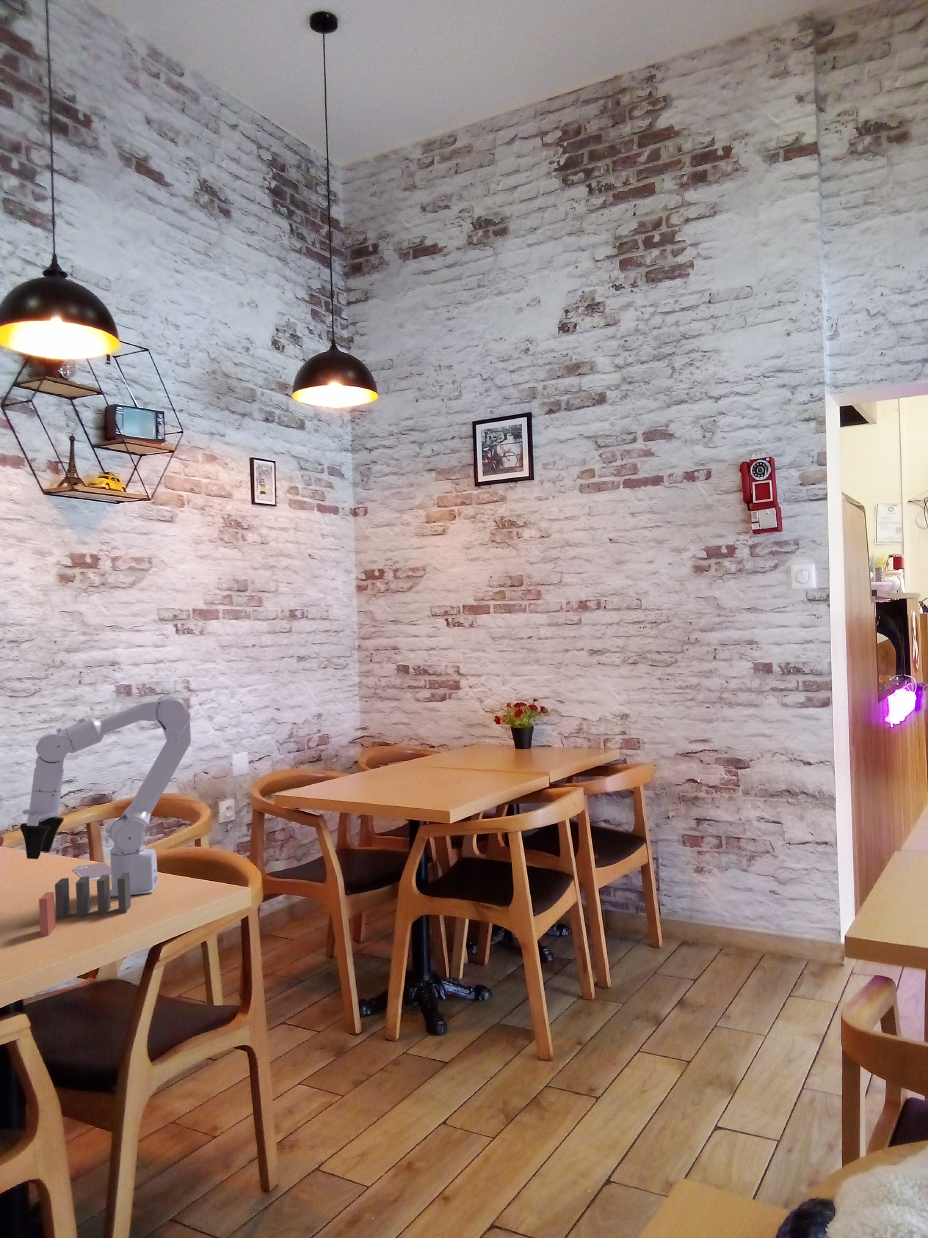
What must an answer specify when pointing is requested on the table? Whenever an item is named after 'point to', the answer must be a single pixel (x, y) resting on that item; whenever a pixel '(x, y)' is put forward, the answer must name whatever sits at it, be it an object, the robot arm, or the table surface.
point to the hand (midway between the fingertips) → (38, 855)
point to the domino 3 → (103, 894)
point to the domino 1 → (62, 898)
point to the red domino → (47, 913)
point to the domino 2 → (83, 896)
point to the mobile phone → (93, 870)
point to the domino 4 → (124, 892)
